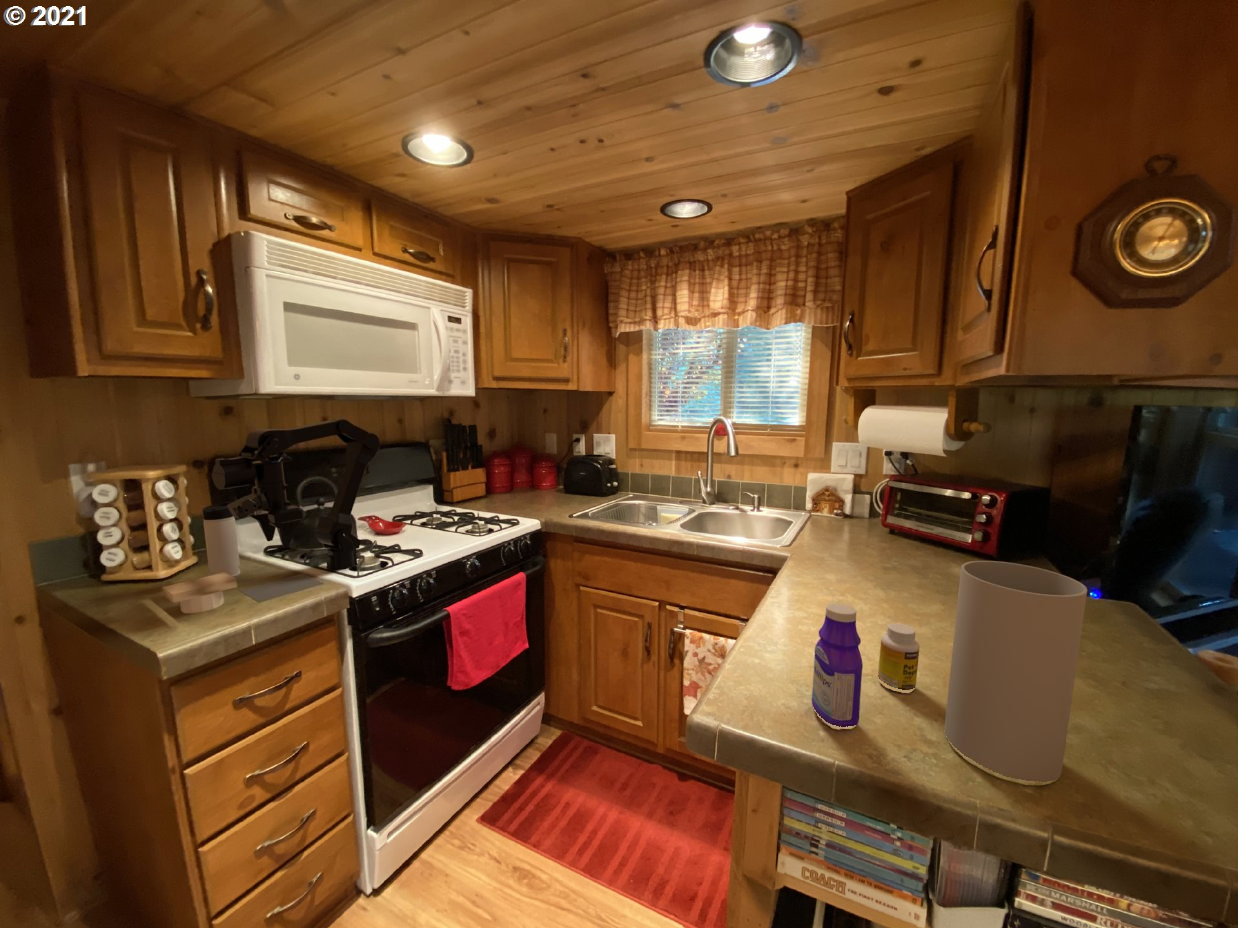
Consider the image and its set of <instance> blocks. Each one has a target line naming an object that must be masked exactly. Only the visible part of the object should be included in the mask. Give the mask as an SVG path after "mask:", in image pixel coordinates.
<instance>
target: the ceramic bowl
mask: <svg viewBox="0 0 1238 928" xmlns="http://www.w3.org/2000/svg"><path fill="white" fill-rule="evenodd" d="M179 604H180V605H179V606H180V612H182V613H183V614H198V613H203V612H208V611H210V610H214V609H216V608H218V607H220V606H222V605H223V604H224V590H223V591H220V592H216V593H212V594H208V595H204V596H200V597H197V598H193V599H189V600H185V601H181V602H179Z"/></svg>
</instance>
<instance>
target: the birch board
mask: <svg viewBox="0 0 1238 928" xmlns="http://www.w3.org/2000/svg"><path fill="white" fill-rule="evenodd" d="M234 588H238V583H237V577H233V576H231V575H229V574H227V573H225V572H224V573H219V574H215V575H211V576H210V575H208V576H204V577H200V578H199V577H198V578H195V579H190V580H187V581H182V582H178V583H174V584H170V585H165V586H162V595H163V597H164V598H166V599H167V600H168V601H170V602H171V603H172V604H177V603H180V602H181V601H185V600H189V599H193V598H197V597H200V596H204V595H208V594H212V593H216V592H220V591H223V592H224V591H226V590H230V589H231V590H232V589H234Z"/></svg>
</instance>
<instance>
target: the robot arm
mask: <svg viewBox="0 0 1238 928" xmlns="http://www.w3.org/2000/svg"><path fill="white" fill-rule="evenodd" d="M332 436H336V437H337V438H338V440H340V441H341V442H343V443H344V444H346V447H345V453H346V460H347V462H346V465H345V468H344V472H343V473H342V477H341V479H340V482H339V485H338V488H337V492H336V496H335V498H334V501H333V504H332V506H331V507H332V508H331V509H330V511H329V512H328V514H326V515H319V517H318V522H317V524H316V527H315V528H314V531H315V537H316V539H317V540H318V542H320V543H321V544H322V546H323V548H324V549H327V555H326V556H325V561H326V563H325V564H326V570H328V572H329V571H330V572H336V571H344V570H348V569H351V568H353V567H355V566H357V565H358V556H357V549H358V550H359V549H360V547H361V541H362V540H360V538H358V537H356V536H355V535H354V534H352V532H353V521H352V511H353V508H354V505H355V503H356V499H357V496H358V493H359V490H360V487H361V483H362V481H363V479H364V478H363V477H364V475H365V472H366V469H367V466H368V465H369V464H370V463H371V462H372V461H373V460H374V458H376V455H377V454H378V452H379V450H380V447H381V440H380V438H379V437H378V435H377V434H375V433H372V432H368V430H365V429H362V428H361V427H359V426H357V425H355V424H353V423H352V422H350V421H349V420H347V419H344V418H332V419H330V420H326V421H322V422H321V421H320V422H316V423H311V424H305V425H301V426H296V427H295V426H294V427H290V428H270V429H269V428H263V429H254V430H251V431H250V432H249V433H248V434H247V436H246V438H245V443H244V445H243V447H242V448H241V450H240V451H239V452H238V453H237V456H236V457H231V458H216V459H215V461H214V462H215V465H213V469H212V472H211V478H212V481H213V484H214V486H215V487H216V488H217V490H226V489H233V488H234V489H235V488H240V487H245V486H251V485H252V484H253V482H255V486H252V488H251V493H250V494H248V495H245V496H242V497H241V498H239V499H237V500H234V501H231V502H232V503H230V504H228V505H227V507H228V509H229V510H230V512H231V513H232V515H233V516H234V518H235V519H236V518H237V519H238V520H244V519H246V518H247V517H250V518H251V519H253V520H255V521H256V522H257V523H258V524H259V527H260V528H261V531H262V533H263V535H264V538H265V540H266V541H267V542H271V541H273V540H274V536H275V533H276V530H277V533H278V536H279V540H280V543H281V545H282V548H283V549H286V548H289V547H290V545H291V542H292V540H293V537H294V535H295V534H296V530H297V529H298V527H299V525H300V523H301V522H302V521H303V519H304V518H305V510H304V509H303V508H301V507H299V506H296V505H293V504H292V505H291V501H290V500H288V499H287V491H286V490H290V489H289V484H286V481H285V474H284V473H285V472H284V466H283V463H285V462H292V460H293V458H292V457H290V456H289V455H287V454H286V453H285V451H287V450H290V449H291V448H292V447H294V446H296V445H298V444H301V443H306V442H311V441H315V440H318V439H323V438H327V437H332Z"/></svg>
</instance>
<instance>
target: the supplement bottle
mask: <svg viewBox="0 0 1238 928" xmlns="http://www.w3.org/2000/svg"><path fill="white" fill-rule="evenodd" d="M879 648H880V649H879V659H878V670H877V672H878V673H877V678H878V677H879V679H880V680H881V681H883V682H884V683H886V684H887V685H889V686H891V687H894V688H898V689H902V690H910V689H913V688H915V689H916V687H915V686H916V685H917V677H918V667H919V656H920V649H921V648H920V644H919V642H918V641H917V640H916V630H915V629H914V627H912V626H910V625H907V624H903V623H898V622H892V623H889V624H888V625H887V630H886V633H883V635H881V638H880V647H879Z"/></svg>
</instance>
